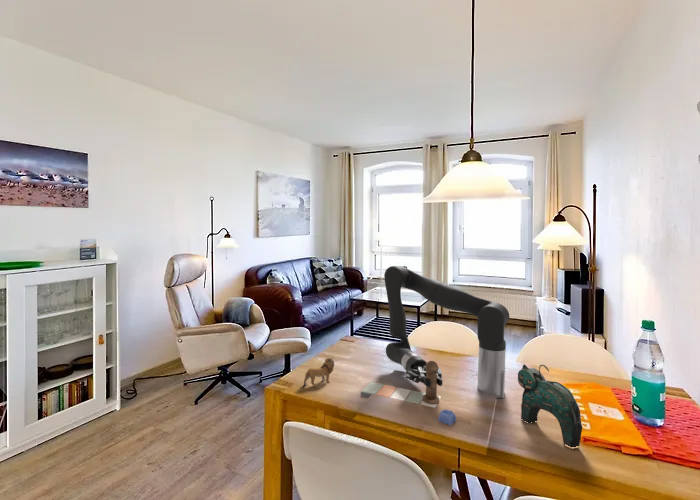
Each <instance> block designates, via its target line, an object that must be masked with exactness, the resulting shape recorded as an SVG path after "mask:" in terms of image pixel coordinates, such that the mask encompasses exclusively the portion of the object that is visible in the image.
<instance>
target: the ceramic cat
mask: <svg viewBox="0 0 700 500" xmlns="http://www.w3.org/2000/svg"><path fill="white" fill-rule="evenodd" d="M541 367H544V368H545V370H546V371H547V372H550V369H549V368H548V367H547V366H546V365H545V364H540V365H539V368H538V369H537V368H535V367H534V368H533V367H530V368H528V366H527V365H526V364H523V365H522V368H521V369H520V370H519V371H518V373H517V382H518V384H519V386H520V387H521V388H523V393H522V398H521V404H520V408H521V409H520V410H521V414H520V420H521V419H523V420H524V421H526V422H528V423H531V422H535V421H537V422H538V414H539V412H540V411H541V410H542V411H546V412H548V413H550V414H551V415H552V416H554V418H555V419H556V420H557V422H558V424H559V427H560V430H561V436H562V442H563V443H564V444H566V445H568V446H570V447H576V446H579V447H580V445H581V444H580V443H581V438H582V432H583V424H582V419H581V418H582V417H581V411H580V406H579V404H578V402H577V400H576V399H575V397H574V395H573V393H572V392H571V391H570V389H568V388H567V387H566V386H565V385H563V384H561V383H560V382H559V381H551V380H548V379H547V380H546V377H544V375H543V374H542V373H541ZM523 420H522V421H523ZM524 421H523V422H524ZM526 422H525V423H526ZM528 423H527V424H528ZM563 443H562V444H563Z"/></svg>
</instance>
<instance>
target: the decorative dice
mask: <svg viewBox="0 0 700 500" xmlns="http://www.w3.org/2000/svg"><path fill="white" fill-rule="evenodd" d="M456 421H457V416H456V414H455V413H454V411H452V410H449V409H442V410H441V411H440V412H439V415H438V422H440V423H442V424H445V425H448V426H452V425H453V424H454V423H455V422H456Z"/></svg>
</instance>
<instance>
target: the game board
mask: <svg viewBox="0 0 700 500" xmlns="http://www.w3.org/2000/svg"><path fill="white" fill-rule="evenodd" d="M425 394H426V392H421V391H417V390H411V389H408V388H402V387H397V386H392V385H388V384H384V383H378V382H374V381H370V382H369V384H368V385H366V387H365V388H363V390H362V391H360V395H361V396H362V397H366V398H370V397H371V396H372V395H376V396H381V397H384V398H391V399H395V400H398V401H405V402H408V403H412V404H417V405H421V406H425V407H430V408H434V409H435V408H436V407H437V405H438V403H437V404H428V403H425V402H424V401H423V395H425ZM437 396H438V397H439V401H440V399H441V397H442V396H440V395H437Z"/></svg>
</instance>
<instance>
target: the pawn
mask: <svg viewBox="0 0 700 500" xmlns="http://www.w3.org/2000/svg"><path fill="white" fill-rule="evenodd" d="M426 362H427V363H426V366H425V369H426V377H427V378H428V379H429V380H430V381H431V387H428V386H426V385H425V393H426V394H425V395H423V399H422V401H424V402H425V403H428V404H437V405H438V404H439V403H440V400H439V397H438V396H439V395H437V392H438V391H437V390H438V388H437V386H438V384H437V371H438V368H439V365H438V363H437V362H436V361H433V360H429V361H426Z"/></svg>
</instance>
